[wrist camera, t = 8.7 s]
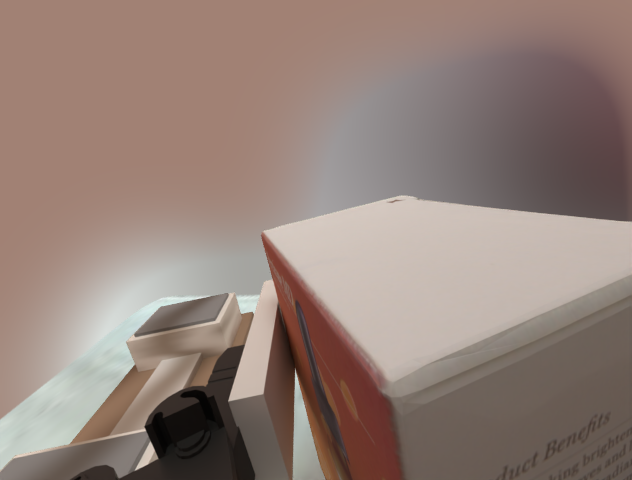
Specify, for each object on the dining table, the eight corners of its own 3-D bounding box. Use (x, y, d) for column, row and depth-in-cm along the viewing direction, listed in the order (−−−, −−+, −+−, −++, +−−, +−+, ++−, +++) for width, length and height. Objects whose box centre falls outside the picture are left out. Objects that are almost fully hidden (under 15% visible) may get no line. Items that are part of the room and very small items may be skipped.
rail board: (255, 319, 33) (245, 284, 32) (145, 703, 9) (92, 619, 8) (166, 338, 33) (153, 303, 32) (-164, 767, 9) (-256, 691, 8)
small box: (319, 465, 13) (256, 229, 10) (428, 411, 14) (401, 191, 11) (464, 880, 5) (374, 390, 2) (669, 677, 7) (763, 217, 4)
